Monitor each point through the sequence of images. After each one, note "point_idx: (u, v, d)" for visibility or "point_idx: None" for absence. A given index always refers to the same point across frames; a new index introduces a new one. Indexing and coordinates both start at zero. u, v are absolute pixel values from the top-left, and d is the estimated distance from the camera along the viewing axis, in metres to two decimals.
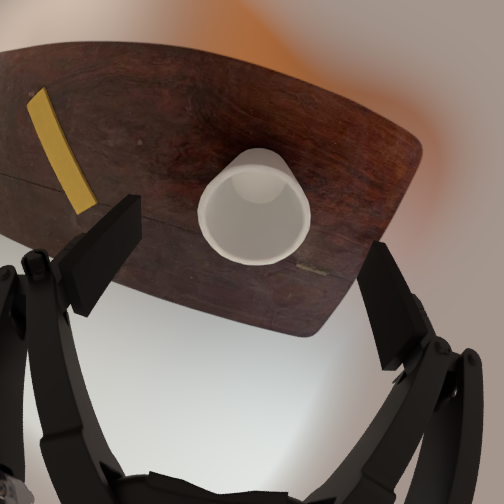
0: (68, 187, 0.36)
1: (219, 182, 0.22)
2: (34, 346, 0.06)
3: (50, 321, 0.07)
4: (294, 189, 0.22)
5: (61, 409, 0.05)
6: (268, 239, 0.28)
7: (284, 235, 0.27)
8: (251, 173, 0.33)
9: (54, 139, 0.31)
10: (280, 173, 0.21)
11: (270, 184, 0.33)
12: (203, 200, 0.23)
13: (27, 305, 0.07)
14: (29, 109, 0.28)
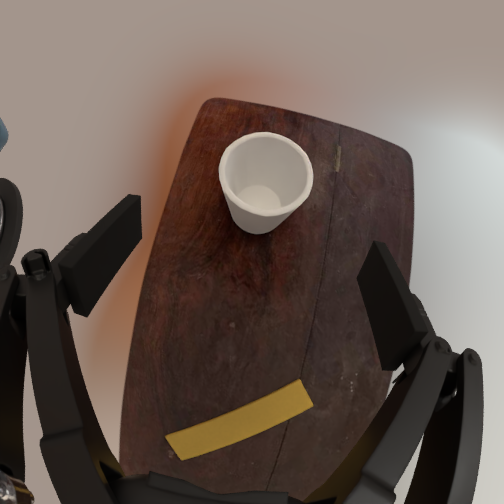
0: (281, 414, 0.34)
1: (236, 197, 0.27)
2: (34, 346, 0.06)
3: (50, 321, 0.07)
4: (235, 144, 0.28)
5: (61, 409, 0.05)
6: (294, 171, 0.31)
7: (285, 156, 0.30)
8: None
9: (224, 427, 0.33)
10: (223, 155, 0.27)
11: (261, 196, 0.39)
12: (254, 210, 0.27)
13: (27, 305, 0.07)
14: (186, 457, 0.32)
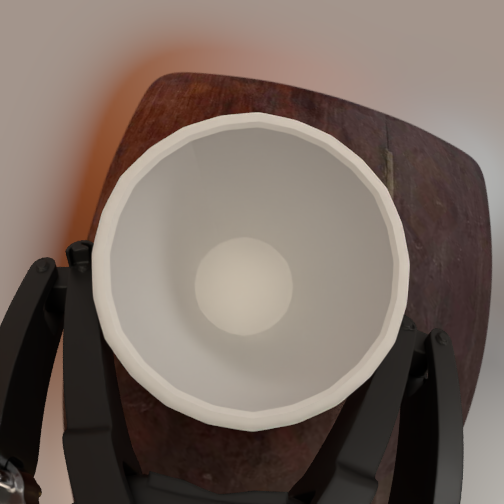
0: None
1: (148, 372, 0.07)
2: (70, 338, 0.06)
3: (91, 315, 0.07)
4: (149, 162, 0.08)
5: (91, 405, 0.05)
6: (337, 229, 0.11)
7: (313, 187, 0.10)
8: (235, 300, 0.18)
9: None
10: (108, 203, 0.07)
11: (251, 263, 0.19)
12: (213, 417, 0.07)
13: (67, 295, 0.08)
14: None
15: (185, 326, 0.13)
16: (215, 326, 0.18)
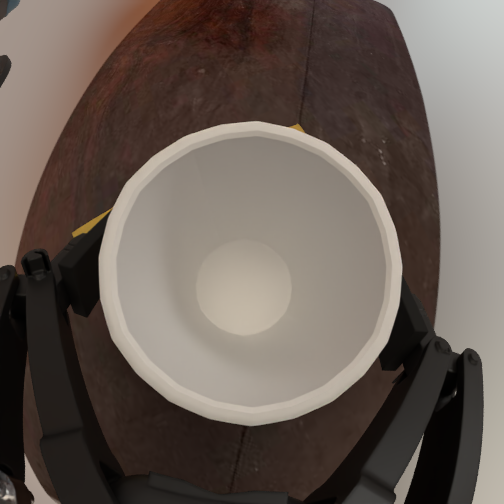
0: None
1: (153, 369, 0.07)
2: (34, 346, 0.06)
3: (50, 321, 0.07)
4: (152, 170, 0.08)
5: (61, 409, 0.05)
6: (334, 232, 0.12)
7: (310, 192, 0.11)
8: (235, 301, 0.19)
9: None
10: (114, 210, 0.08)
11: (251, 265, 0.19)
12: (214, 412, 0.07)
13: (27, 305, 0.07)
14: None
15: (187, 326, 0.13)
16: (216, 326, 0.18)
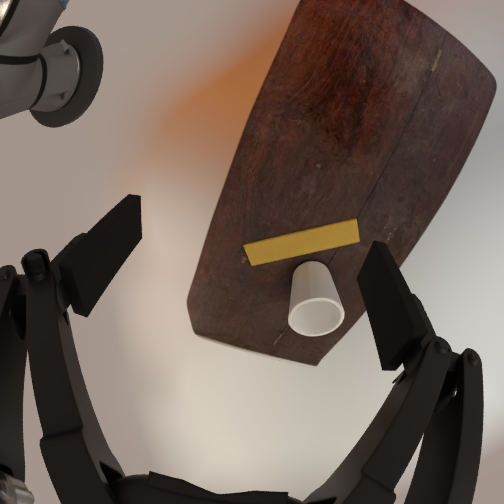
0: (335, 241, 0.51)
1: (295, 328, 0.48)
2: (34, 346, 0.06)
3: (50, 321, 0.07)
4: (303, 304, 0.44)
5: (61, 409, 0.05)
6: None
7: None
8: None
9: (292, 243, 0.52)
10: (294, 308, 0.45)
11: None
12: (302, 334, 0.48)
13: (27, 305, 0.07)
14: (256, 263, 0.55)
15: None
16: None
